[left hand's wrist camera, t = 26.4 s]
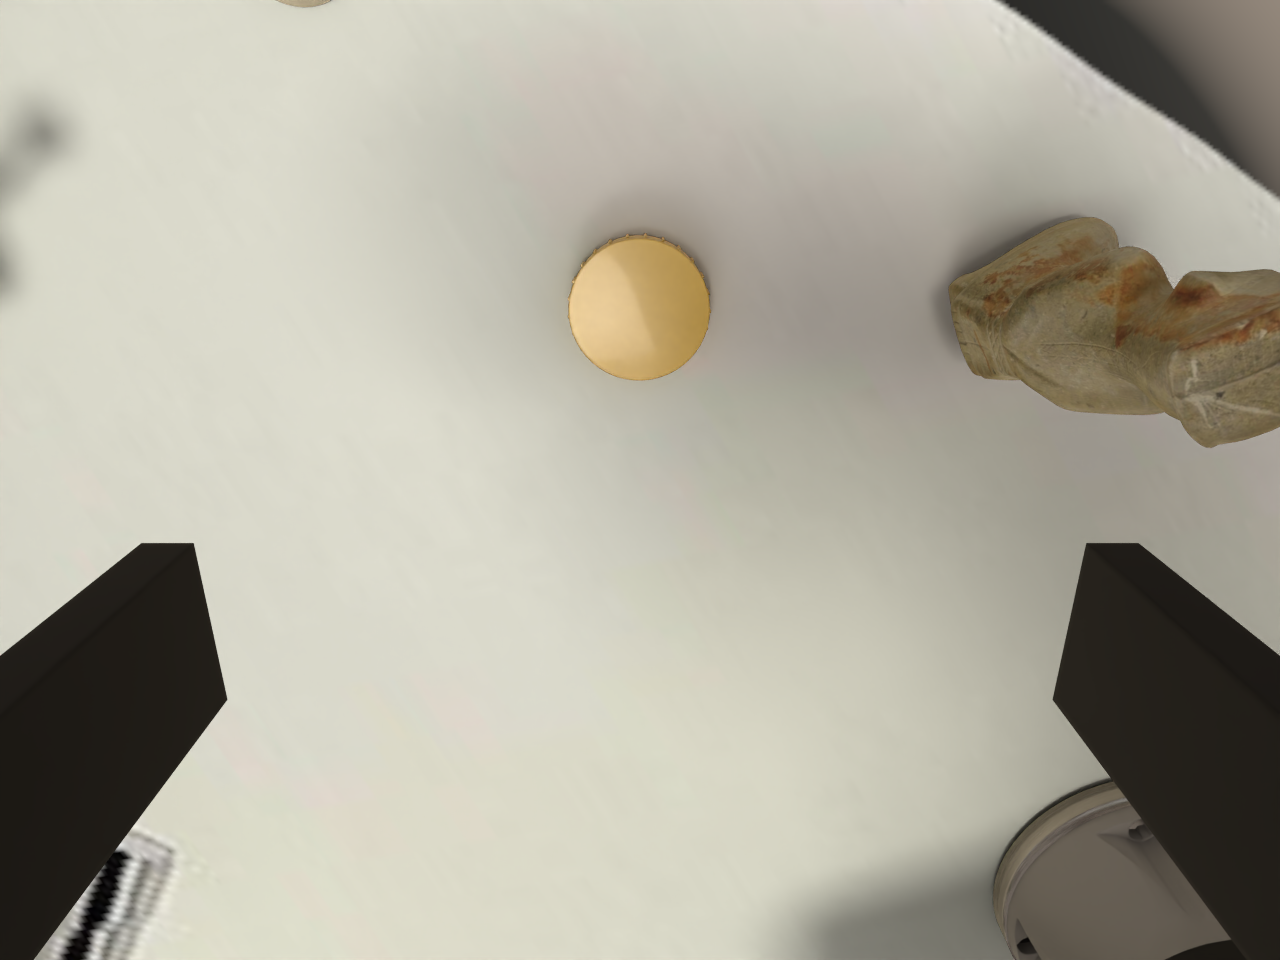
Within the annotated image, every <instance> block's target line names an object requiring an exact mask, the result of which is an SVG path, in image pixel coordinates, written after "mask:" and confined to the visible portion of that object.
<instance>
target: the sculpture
mask: <svg viewBox="0 0 1280 960" xmlns="http://www.w3.org/2000/svg"><path fill="white" fill-rule="evenodd" d="M1118 246H1119V244H1118V239H1117V235H1116V233H1115V231H1114V229H1113V228H1112V227H1111V226H1110V225H1109V224H1107V223H1106V222H1104V221H1102V220H1100V219H1097V218H1094V217H1084V218H1078V219H1073V220H1069V221H1066V222H1062V223H1059V224H1057V225H1055V226H1053V227H1051V228H1048V229H1046V230H1044V231H1043V232H1041V233H1039V234H1037V235H1035V236H1034V237H1032V238H1030V239H1028V240H1027V241H1025V242H1023V243H1022V244H1020V245H1018V246H1017V247H1015V248H1013V249H1012V250H1010V251H1009V252H1007V253H1006V254H1004V255H1003V256H1001V257H1000V258H998V259H996V260H995V261H993V262H992V263H990V264H988V265H986V266H985V267H983V268H981V269H978V270H976V271H974V272H972V273H970V274H969V273H968V274H965V275H962V276H960V277H959V278H957V279H956V280H955V281H954V282H953V283H952V284H950V286H949V297H950V303H951V314H952V319H953V323H954V327H955V330H956V334H957V337H958V341H959V344H960V347H961V350H962V353H963V355H964V357H965V360H966V362H967V364H968V366H969V368H970V369H971V371H972V372H973V373H974V374H976V375H978V376H982V377H983V378H986V379H996V380H1021V381H1023V382H1024V383H1025V384H1026V385H1028V386H1029V387H1031V388H1032V389H1033V390H1035V391H1036V392H1038V393H1039V394H1041V395H1042V396H1044V397H1045V398H1047V399H1048V400H1050V401H1051V402H1053V403H1054V404H1056V405H1057V406H1059V407H1062V408H1064V409H1067V410H1071V411H1077V412H1088V413H1103V414H1121V415H1150V414H1158V413H1162V412H1166V413H1167V414H1168V415H1170V416H1172V417H1174V418H1176V419H1178V420H1180V421H1181V423H1182V425H1183V427H1184V429H1185V430H1186V431H1187V433H1188V434H1189V435H1190V436H1191V437H1192V438H1193V439H1194V440H1195V441H1196V442H1198V443H1199V444H1200V445H1202V446H1204V447H1208V448H1212V447H1214V446H1217V445H1219V444H1225V443H1231V442H1237V441H1241V440H1246V439H1249V438H1252V437H1255V436H1258V435H1261V434H1264V433H1266V432H1269V431H1272V430H1274V429H1276V428H1278V427H1280V273H1279V272H1276V271H1273V270H1267V269H1261V270H1251V271H1242V272H1211V271H1191V272H1189V273H1187V274H1186V275H1185V276H1183V278H1182V279H1181V280H1180V281H1179V283H1178V284H1177V286H1176V287H1175V289H1173V288H1172V286H1171V284H1170V282H1169V281H1168V279H1167V276H1166V274H1165V272H1164V270H1163V268H1162V266H1161V265H1160V264H1159V262H1158V261H1157V260H1156V258H1155V257H1154V256H1152V255H1151V254H1150V253H1149V252H1147V251H1145V250H1143V249H1141V248H1137V247H1123V248H1118Z"/></svg>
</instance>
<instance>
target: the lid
mask: <svg viewBox="0 0 1280 960" xmlns="http://www.w3.org/2000/svg"><path fill="white" fill-rule="evenodd" d="M580 267H581V269H580V271H579V273H578V274H577V277H574V279H573V281H572V283H574V284H573V286H572V289H571V293H570V295H569V297H568V300H569V315H568V318H569V321H570V326H571V330H572V334H573V336H574V338H575V340H576V342H577V344H578V346H579V347H580V349H581V351H582V352H583V353H584V354H585V356H586V357H587V358H588V359H589V360H590V361H591V362H592V363H593V364H595V365H596V366H597V367H599V368H600V369H602V370H603V371H605V372H607V373H609V374H611V375H614V376H616V377H620V378H623V379H629V380H650V379H655V378H659V377H662V376H665V375H667V374H669V373H671V372H673V371H675V370H677V369H678V368H680V367H681V366H682V365H684V364H685V363H686V362H687V361H688V360H689V359H690V358H691V357H692V356H693V355H694V353H695V352H696V351H697V349H698V348H699V347H700V345H701V343H702V341H703V339H704V337H705V334H706V331H707V330H708V323H709V315H710V313H711V309H710V304H709V296H708V295H710V293H709V290H708V288H706V285H705V283H704V280H703V278H704V275H703V273H702V272H699V270H698V268H697V267H696V265H695V264H694V259H693V258H692V257H691V258H689V256H688V255H687V254H686V253H685V252H683V251H682V250H681V248H680V246H679V245H678V246H675V245H674V244H672V243H670V242H668V241H666V240H665V239H664V237H662V238H661V239H660V238H657V237H653V236H647V233H644V235H632V236H629V234H626V236H625V237H621V238H618V239H615V240H613V241H612V239H610V240H609V242H608V243H607V244H605V245H603V246H601V247H600V248H599V249H596V248H595V249H594V251H593V254H592V255H591V256H590V257H589V258H588V259H587V260H586V262H584V261H583V262H582V264H581V266H580Z"/></svg>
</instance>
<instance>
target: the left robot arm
mask: <svg viewBox="0 0 1280 960" xmlns="http://www.w3.org/2000/svg"><path fill="white" fill-rule="evenodd" d="M226 701H227V696H226V691H225V686H224V682H223V677H222V673H221V668H220V663H219V659H218V654H217V649H216V645H215V640H214V635H213V631H212V626H211V622H210V617H209V612H208V608H207V603H206V598H205V594H204V589H203V584H202V580H201V575H200V571H199V566H198V561H197V557H196V552H195V547H194V543H141V544H140V545H139V546H137V547H136V548H135V549H134V550H132V551H131V552H130V553H129V554H127V555H126V556H125V557H124V558H122V559H121V560H120V561H119V562H117V563H116V564H115V565H114V566H112V567H111V568H110V569H109V570H107V571H106V572H105V573H104V574H102V575H101V576H100V577H99V578H97V579H96V580H95V581H94V582H92V583H91V584H90V585H88V586H87V587H86V588H85V589H83V590H82V591H81V592H80V593H78V594H77V595H76V596H75V597H73V598H72V599H71V600H70V601H68V602H67V603H66V604H65V605H63V606H62V607H61V608H60V609H58V610H57V611H56V612H55V613H53V614H52V615H51V616H50V617H48V618H47V619H46V620H45V621H43V622H42V623H41V624H40V625H38V626H37V627H36V628H35V629H33V630H32V631H31V632H30V633H28V634H27V635H26V636H25V637H23V638H22V639H21V640H20V641H18V642H17V643H16V644H14V645H13V646H12V647H11V648H9V649H8V650H7V651H6V652H4V653H3V654H2V655H1V656H0V960H34V958H35V957H36V956H37V954H38V953H39V952H40V950H41V949H42V948H43V946H44V945H45V944H46V942H47V941H48V940H49V938H50V937H51V936H52V934H53V933H54V932H55V930H56V929H57V928H58V926H59V925H60V924H61V922H62V921H63V920H64V918H65V917H66V916H67V914H68V913H69V911H70V910H71V909H72V907H73V906H74V905H75V903H76V902H77V901H78V899H79V898H80V897H81V895H82V894H83V893H84V891H85V890H86V889H87V887H88V886H89V885H90V883H91V882H92V881H93V879H94V878H95V877H96V875H97V874H98V873H99V871H100V870H101V869H102V867H103V866H104V865H105V863H106V862H107V860H108V859H109V858H110V856H111V855H112V854H113V852H114V851H115V850H116V848H117V847H118V846H119V844H120V843H121V842H122V840H123V839H124V838H125V836H126V835H127V834H128V832H129V831H130V830H131V828H132V827H133V826H134V824H135V823H136V822H137V820H138V819H139V818H140V816H141V815H142V814H143V812H144V811H145V809H146V808H147V807H148V805H149V804H150V803H151V801H152V800H153V799H154V797H155V796H156V795H157V793H158V792H159V791H160V789H161V788H162V787H163V785H164V784H165V783H166V781H167V780H168V779H169V777H170V776H171V775H172V773H173V772H174V771H175V769H176V768H177V767H178V765H179V764H180V763H181V761H182V760H183V758H184V757H185V756H186V754H187V753H188V752H189V750H190V749H191V748H192V746H193V745H194V744H195V742H196V741H197V740H198V738H199V737H200V736H201V734H202V733H203V732H204V730H205V729H206V728H207V726H208V725H209V724H210V722H211V721H212V720H213V718H214V717H215V716H216V714H217V713H218V712H219V710H220V709H221V707H222V706H223V705H224V703H225V702H226ZM1053 701H1054V702H1055V703H1056V705H1057V706H1058V707H1059V709H1060V710H1061V712H1062V713H1063V714H1064V716H1065V717H1066V718H1067V720H1068V721H1069V722H1070V724H1071V725H1072V726H1073V728H1074V729H1075V730H1076V732H1077V733H1078V734H1079V736H1080V737H1081V738H1082V740H1083V741H1084V742H1085V744H1086V745H1087V746H1088V748H1089V749H1090V750H1091V752H1092V753H1093V754H1094V756H1095V757H1096V758H1097V760H1098V761H1099V763H1100V764H1101V765H1102V767H1103V768H1104V769H1105V771H1106V772H1107V773H1108V775H1109V776H1110V777H1111V779H1112V780H1113V782H1109V783H1105V784H1102V785H1099V786H1096V787H1093V788H1090V789H1087V790H1085V791H1082V792H1080V793H1078V794H1076V795H1073V796H1071V797H1070V798H1068V799H1066V800H1064V801H1062V802H1060V803H1059V804H1057V805H1055V806H1054V807H1052V808H1050V809H1049V810H1048V811H1046V812H1045V813H1044V814H1042V815H1041V816H1039V817H1038V818H1037V819H1036V820H1035V821H1034V822H1032V823H1031V824H1030V825H1029V826H1028V827H1027V828H1026V829H1025V830H1024V831H1023V832H1022V833H1021V834H1020V835H1019V837H1018V838H1017V839H1016V840H1015V841H1014V843H1013V844H1012V845H1011V847H1010V848H1009V850H1008V851H1007V853H1006V855H1005V857H1004V858H1003V860H1002V862H1001V864H1000V867H999V869H998V872H997V875H996V879H995V883H994V890H993V906H994V913H995V916H996V920H997V922H998V925H999V927H1000V929H1001V931H1002V934H1003V936H1004V938H1005V940H1006V942H1007V944H1008V947H1009V949H1010V951H1011V953H1012V955H1013V957H1014V959H1015V960H1280V656H1279V655H1278V654H1277V653H1276V652H1274V651H1273V650H1272V649H1271V648H1269V647H1268V646H1267V645H1266V644H1264V643H1263V642H1262V641H1260V640H1259V639H1258V638H1257V637H1255V636H1254V635H1253V634H1252V633H1250V632H1249V631H1248V630H1247V629H1245V628H1244V627H1243V626H1242V625H1240V624H1239V623H1238V622H1237V621H1235V620H1234V619H1233V618H1232V617H1230V616H1229V615H1228V614H1227V613H1225V612H1224V611H1223V610H1222V609H1220V608H1219V607H1218V606H1217V605H1215V604H1214V603H1213V602H1212V601H1210V600H1209V599H1208V598H1207V597H1205V596H1204V595H1203V594H1202V593H1200V592H1199V591H1198V590H1197V589H1195V588H1194V587H1193V586H1192V585H1190V584H1189V583H1188V582H1186V581H1185V580H1184V579H1183V578H1181V577H1180V576H1179V575H1178V574H1176V573H1175V572H1174V571H1173V570H1171V569H1170V568H1169V567H1168V566H1166V565H1165V564H1164V563H1163V562H1161V561H1160V560H1159V559H1158V558H1156V557H1155V556H1154V555H1153V554H1151V553H1150V552H1149V551H1148V550H1146V549H1145V548H1144V547H1143V546H1141V545H1140V544H1139V543H1086V547H1085V552H1084V557H1083V561H1082V566H1081V571H1080V575H1079V580H1078V584H1077V589H1076V594H1075V598H1074V603H1073V608H1072V612H1071V617H1070V622H1069V626H1068V631H1067V635H1066V640H1065V645H1064V649H1063V654H1062V659H1061V663H1060V668H1059V673H1058V677H1057V682H1056V686H1055V691H1054V696H1053Z"/></svg>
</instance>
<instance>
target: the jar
mask: <svg viewBox="0 0 1280 960" xmlns="http://www.w3.org/2000/svg"><path fill="white" fill-rule="evenodd" d="M276 1H279V2H282V3H284V4H287V5H291V6H296V7H313V6H318V5H322V4H324V3H327V2H329V1H331V0H276Z"/></svg>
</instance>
